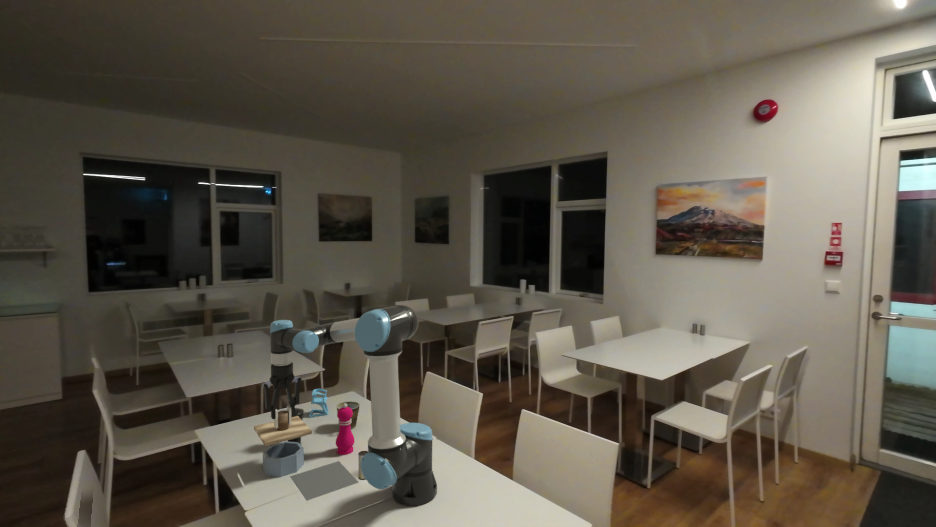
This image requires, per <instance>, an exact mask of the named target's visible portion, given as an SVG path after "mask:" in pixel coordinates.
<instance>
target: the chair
mask: <svg viewBox="0 0 936 527" xmlns="http://www.w3.org/2000/svg"><path fill="white" fill-rule="evenodd" d="M323 392H324V393H323ZM327 392H328V390H327V389H323V388H314V389H313V390H312V392H311V397H312V400H311V402H310V404H311V405H318V406H320V407H321V409H317V408H314V409H313V408H312V409H311V411H310V413H309V415H308V417H309V418H317V417H322V416H328V415H329V414H330V410H329V408H328V404H327V400H328V396H327ZM321 396H322V397H321ZM314 412H315V414H313V413H314ZM317 412H318V413H317ZM322 412H323V413H322ZM316 416H317V417H316Z"/></svg>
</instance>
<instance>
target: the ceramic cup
mask: <svg viewBox="0 0 936 527" xmlns="http://www.w3.org/2000/svg"><path fill="white" fill-rule="evenodd" d="M345 403H346V404H347V407H350V408H351V409H352V411H353V415H352V417H351V419H352V420H351V421H352V422H351V424H350V428H351V430H354V429H355V428H356V426H357V422H358V416H359V411H360V403H359V402H357V401H353V400H350V401H349V400H348V401H343V402H340V403H338V404H337V405H336V412H338V410H339V409H340V408H342V407H343V404H345Z"/></svg>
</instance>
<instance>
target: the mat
mask: <svg viewBox="0 0 936 527" xmlns="http://www.w3.org/2000/svg"><path fill="white" fill-rule="evenodd" d="M289 478H290V479H291V480H292V481H293V483H294V485H295V486H296V488H298V490H299V491H300V493H301V494H302V496H303V497H304V499H305V500H306V501H311V500H313V499H315V498H318V497H322V496H324V495H327V494H330V493H333V492H336V491H338V490H341V489H345V488H347V487H350V486H353V485H355V484H358V483H359V481H358V480H357V479H356V477H355V476H354V475H353V474H352V473H351V472H350V471H349V470H348V469H347V468H346V467H345V466H344V465H343V464H342V463H341V461H340V460H337V461H335V462H331V463H329V464H325V465H321V466H318V467H315V468H313V469H310V470H306V471H303V472H299V473H295V474H293V475H291V476H289Z"/></svg>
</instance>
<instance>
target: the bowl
mask: <svg viewBox="0 0 936 527" xmlns="http://www.w3.org/2000/svg"><path fill="white" fill-rule="evenodd" d="M304 455H305V453H304V446H303V445H302V443H299V442H288V440H287V441H283V442H279V443H275V444H272V445H269V447H267V448H266V449H265V450H264V451H262V471H263V472H264V473H265V476H267V477H277V478H282V477H285V476H289V475H292V474H297V473H298V471H299V470H300V469H301V468H302V467H303V466H304V464H305V456H304Z"/></svg>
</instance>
